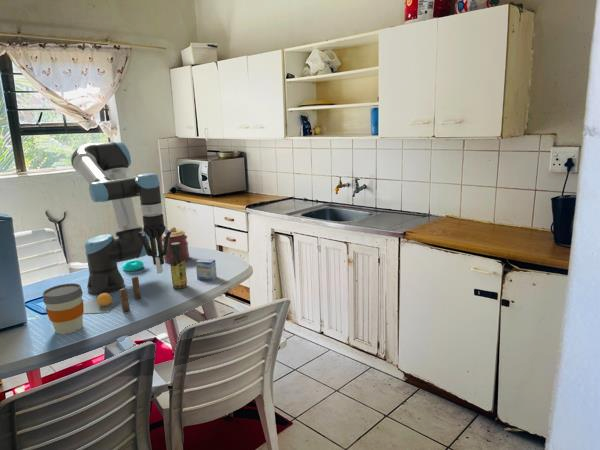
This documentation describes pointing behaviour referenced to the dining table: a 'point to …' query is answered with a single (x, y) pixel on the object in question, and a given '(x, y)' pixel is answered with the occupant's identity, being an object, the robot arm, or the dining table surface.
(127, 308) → the post
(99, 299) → the ball
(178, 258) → the sauce bottle
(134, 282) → the post
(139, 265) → the donuts
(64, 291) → the reusable coffee cup
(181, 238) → the canister
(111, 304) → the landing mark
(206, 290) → the dining table surface
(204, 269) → the medicine box
